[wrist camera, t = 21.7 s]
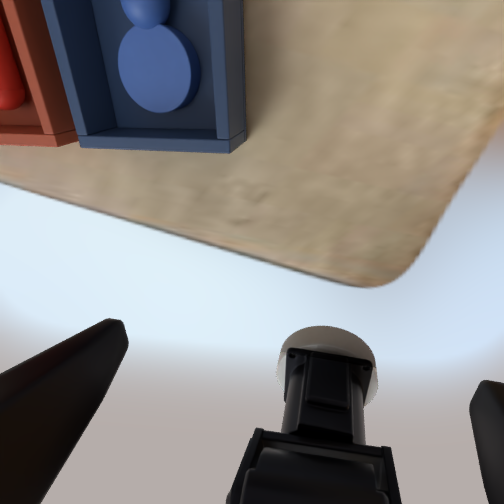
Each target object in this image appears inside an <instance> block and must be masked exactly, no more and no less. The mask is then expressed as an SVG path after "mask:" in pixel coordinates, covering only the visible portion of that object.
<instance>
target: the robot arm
mask: <svg viewBox="0 0 504 504" xmlns="http://www.w3.org/2000/svg"><path fill="white" fill-rule="evenodd" d="M128 344H129V342H128V337H127V334H126V330H125V327H124V324H123V322H122V321H121V320H117V319H111V318H108V319H105V320H103V321H101V322H99V323H97V324H95V325H93V326H91V327H89V328H87V329H86V330H84V331H82V332H80V333H78V334H76V335H74V336H72V337H70V338H68V339H66V340H65V341H62V342H61V343H59V344H57V345H55V346H53V347H51V348H49V349H47V350H45V351H43V352H41V353H39V354H37V355H36V356H34V357H32V358H30V359H28V360H26V361H24V362H22V363H20V364H18V365H16V366H14V367H12V368H10V369H9V370H6V371H5V372H3V373H1V374H0V504H41V502H42V500H43V499H44V497H45V495H46V494H47V492H48V490H49V489H50V487H51V485H52V484H53V482H54V480H55V479H56V477H57V475H58V474H59V472H60V470H61V469H62V467H63V465H64V464H65V462H66V461H67V459H68V457H69V456H70V454H71V452H72V451H73V449H74V447H75V446H76V444H77V442H78V441H79V439H80V437H81V436H82V434H83V432H84V431H85V429H86V427H87V426H88V424H89V422H90V421H91V419H92V417H93V416H94V414H95V413H96V411H97V409H98V408H99V406H100V404H101V402H102V401H103V398H104V397H105V395H106V393H107V391H108V389H109V386H110V385H111V382H112V380H113V378H114V376H115V374H116V372H117V370H118V368H119V366H120V364H121V362H122V360H123V358H124V356H125V353H126V351H127V349H128ZM291 353H293V354H291ZM372 371H373V364H372V362H371V361H370V360H367V359H361V358H355V357H349V356H343V355H337V354H330V353H324V352H318V351H312V350H306V349H300V348H294V347H291V348H288V349H287V353H286V367H285V388H284V401H285V403H286V405H285V411H284V417H283V423H282V429H281V433H280V432H273V431H266V430H264V429H262V428H256V429H255V431H254V434H253V437H252V438H250V441H249V443H248V446H247V449H246V451H245V454H244V457H243V459H242V461H241V464H240V467H239V469H238V472H237V475H236V477H235V480H234V482H233V485H232V488H231V490H230V492H229V493H228V495H227V499H226V504H402V503H401V498H400V492H399V487H398V482H397V477H396V471H395V467H394V461H393V457H392V451H391V447H387V446H381V447H375V446H368V445H366V442H365V428H364V427H365V426H364V410H363V408H364V404H365V400H366V396H367V392H368V388H369V384H370V380H371V375H372ZM469 412H470V418H471V423H472V428H473V433H474V438H475V444H476V449H477V454H478V459H479V465H480V470H481V475H482V479H483V484H484V488H485V492H486V495H487V498H488V502H489V504H504V383H501V382H494V381H489V380H483V381H481V382H480V384H479V386H478V388H477V390H476V392H475V394H474V396H473V398H472V400H471V402H470V407H469Z"/></svg>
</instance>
